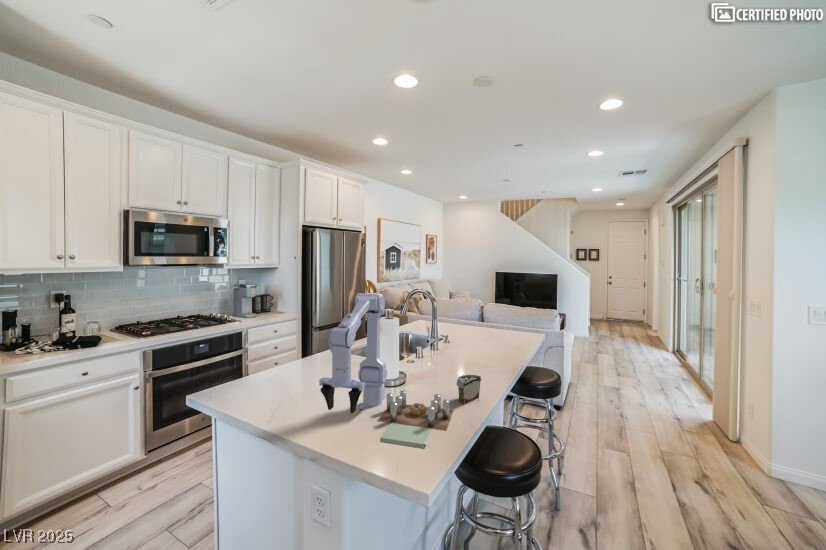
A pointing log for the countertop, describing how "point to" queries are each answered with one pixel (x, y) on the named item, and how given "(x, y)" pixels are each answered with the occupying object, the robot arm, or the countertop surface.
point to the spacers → (433, 410)
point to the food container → (468, 388)
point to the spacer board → (417, 419)
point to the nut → (417, 409)
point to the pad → (405, 435)
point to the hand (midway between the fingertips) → (341, 410)
